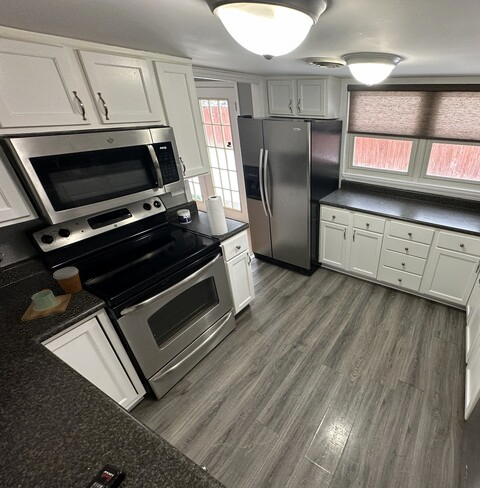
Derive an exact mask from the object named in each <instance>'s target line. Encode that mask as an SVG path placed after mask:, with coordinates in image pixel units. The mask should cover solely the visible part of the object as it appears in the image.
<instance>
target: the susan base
mask: <svg viewBox="0 0 480 488" xmlns="http://www.w3.org/2000/svg"><path fill="white" fill-rule="evenodd" d="M55 298H59V299H60V300H61V303H60V304H59V305H58V306H56V307H54V308H52V309H50V310H47V311H43V312H34V311H33V310H32V308H33V307H34V306H35V304H34V303H33V301H31V303H30V305H29V306H28V308H27V309H26V310H25V312H24V314H23V315H22V316H21V318H20V321H21V322H22V323H24V322H28V321H32V320H36V319H40V318H44V317H51V316H53V315H57V314H62V313H65V311H66V309H67V307H68V305H69V303H70V301H71V298H72V294H66V293H65V294H62V295H57V296H55Z"/></svg>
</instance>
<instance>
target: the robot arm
mask: <svg viewBox="0 0 480 488" xmlns="http://www.w3.org/2000/svg"><path fill="white" fill-rule="evenodd" d="M4 257H5V253H3V252H0V264H2V262H3V261H4ZM3 272H4V270H3V268H2V267H1V266H0V276H1V275H2V274H3Z"/></svg>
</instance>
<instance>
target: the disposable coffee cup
mask: <svg viewBox="0 0 480 488" xmlns="http://www.w3.org/2000/svg"><path fill="white" fill-rule="evenodd" d="M52 278H53V279H54V280H56V281H57V283H58V284H59V286H60V287H61V288H62V290H63V291H64V292H65V295H66V294H71V295H74V294H77V293H79V292H80V291H82V289H83V287H82V283H81V279H80V275H79V269H78V268H77V267H75V266H67V267H63V268H61V269H57V270H55V271H54V272H53V276H52Z"/></svg>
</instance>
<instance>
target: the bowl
mask: <svg viewBox="0 0 480 488" xmlns="http://www.w3.org/2000/svg"><path fill="white" fill-rule="evenodd" d="M55 297H56V296H55V295H54V293H53V291H52V290H51V289H50V288H46V289H42V290H41V291H39V292H36V293H34V294H32V295H31V297H30V299H31V302H33V303H34V304H35V306H34V307H33V308H32V310H33V311H34V312H43V311H47V310H50V309H52V308H54V307H56V306H58V305H59V304H60V303H61V300H60V299H59V298H55Z"/></svg>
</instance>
